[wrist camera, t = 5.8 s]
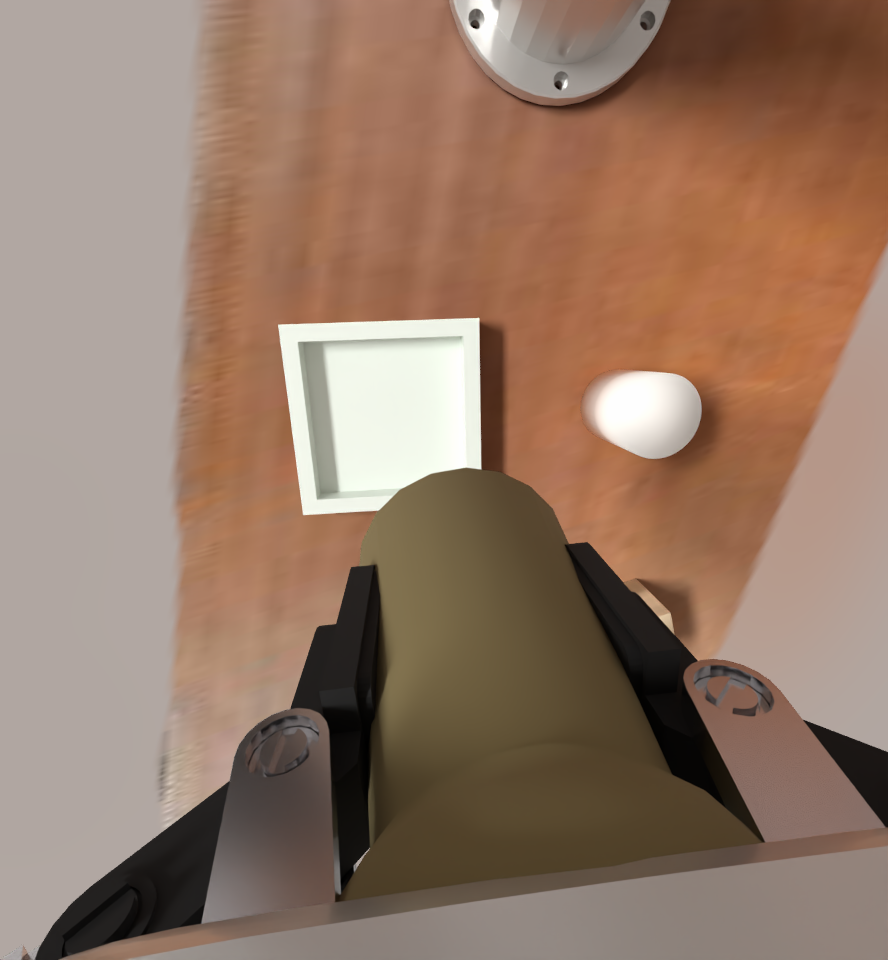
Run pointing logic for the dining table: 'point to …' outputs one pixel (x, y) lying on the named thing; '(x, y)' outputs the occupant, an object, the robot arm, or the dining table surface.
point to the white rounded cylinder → (642, 411)
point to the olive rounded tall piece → (505, 705)
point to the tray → (380, 407)
